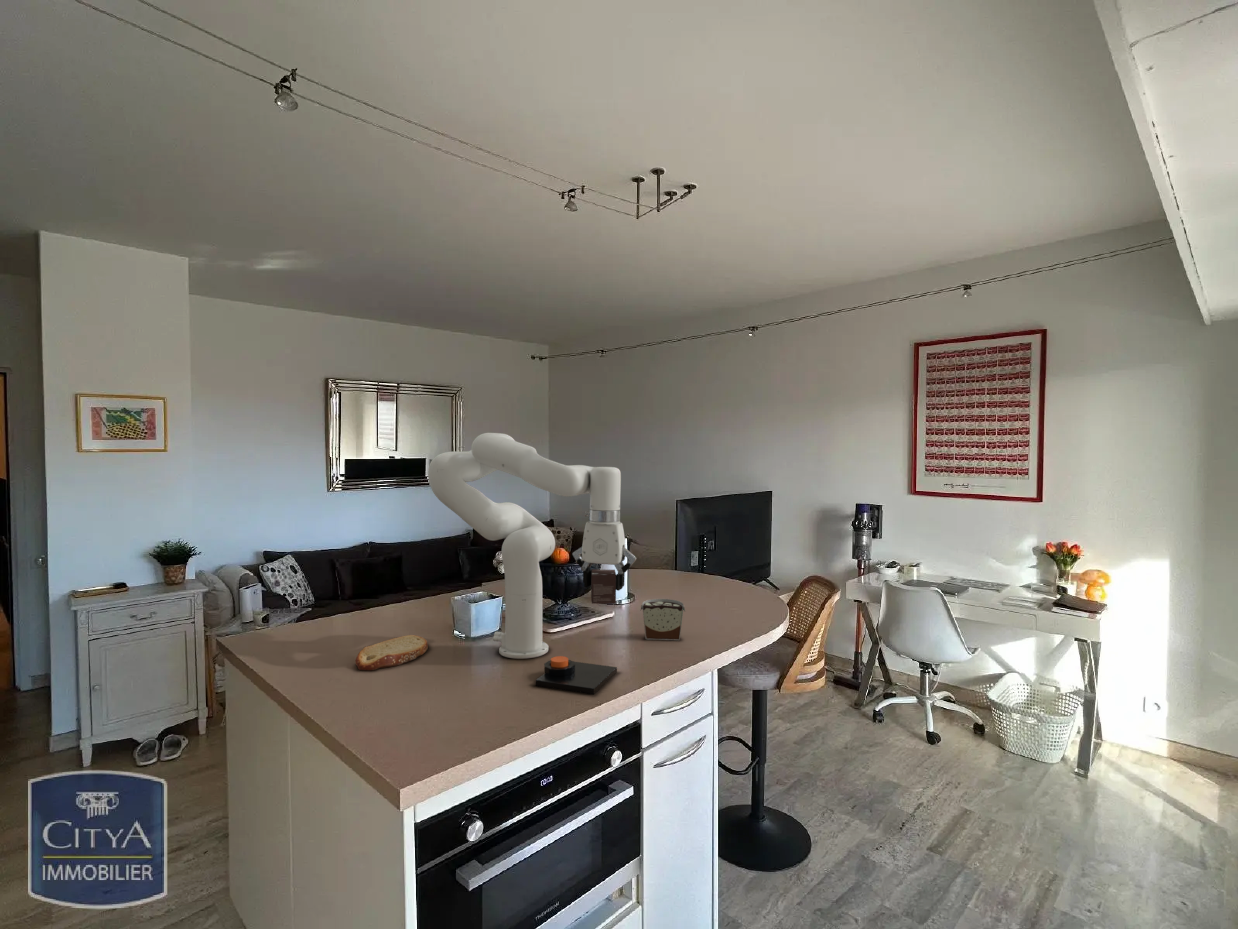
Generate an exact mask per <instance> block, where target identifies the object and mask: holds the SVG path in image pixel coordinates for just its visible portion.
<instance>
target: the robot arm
mask: <svg viewBox="0 0 1238 929" xmlns="http://www.w3.org/2000/svg"><path fill="white" fill-rule="evenodd" d="M496 471H500V472H503V473H506V474H509V475H511V476H514V477H517V478H520V479H522V480H523V481H524V482H526V483H528V484H530V485H532V486H534V487H535V488H538V489H541V490H543V491H545V492H549V493H551V494H554V495H557V496H561V497H564V498H571V497H575V496H582V495H588V494H589V509H588V510H585V511H584V517H587V518H588V520H589V521H585V525H584V530H583V536H582V537H583V538H582V544H581V545H582V546H581V547H578V549H576V550H574V551H573V552H572V557H573V558H574V560H575V561H576V564H577V565H578V566H579V568H580V569H581V571H582V583H583V587H584V588H588V587H591V574H592V569H591V566H592V565H593V564H597V565H598V564H599V565H610V566H611V565H612V566H614V567H615V570H616V571H617V573H616V591H618V592H619V591H621V590H622V589H623V588H624V587H625V575H626V574H625V573H626V572H628V570H630V568H631V567H632V566H633V565H634V564H635V562H636V561H637V558H638V557H636V556H635V554H633V553H632V552H631V551H630V550H628V549H627V548H626V537H625V531H624V524H623V522H621V492H622V491H621V490H622V489H621V488H622V487H621V486H622V485H621V484H622V473H621V470H620V469H619V468H618V467H616V466H615V467H614V466H590V465H585V464H574V465H573V464H569V465H566V464H563V463H560V462H557V461H554V460H552V459H549V458H546V457H543V456H542V455H541V454H538V452H537V449H536V448H535V447H533V446H531V445H529V444H526V443H523V442H522V443H521V442H519V441H516V440H515V438H513V437H512V436H511V435H509V434H507V433H500V432H484V433H481V434H479V435H477V436H476V437H475V438H474V440H473V441H472V443H471V448H470V450H467V451H466V450H465V451H464V450H463V451H457V450H455V451H445V452H442V453H439V454H437V455H435V456H434V457H433V458H432V460H431V461H430V463H429V466H428V470H427V477H428V478H427V479H428V484H429V487H430V489H431V491H432V493H433V494H434V496H435V497H436V498H437V499H438V500H439V501H440V502H441V503H442V504H443V505H444V506H445V507H447V508H448V509H449V510H451V512H453V513H455V515H457V516H458V517H459V518H460V519H461V520H462V521H464V522H465V523H466V524H467V525H469V526H470V527H471V528H472V529H473V530H475V532H477V533H478V534H479V535H480V536H482V537H483V538H484V539H486V540H488V541H499V540H502V539H504V541H503V542H502V545H501V560H502V565H503V566H502V567H503V572H504V603H505V604H504V614H505V615H504V620H505V621H504V624H505V627H504V632H502V631H494V633H493V637H492V641H493V642H500V643H501V645H499V650H498V652H499V654H500V656H502V657H504V658H509V659H516V660H517V659H518V660H524V659H534V658H538V657H542V656H543V655H545V654H547V653H548V652H549V644H548V643H546V642H545V641H543V576H542V571H541V567H540V562H542V561H544V560H546V559H548V558H549V557H551V555H552V554H553V553H554V551H555V549H556V538H555V536H554V533H553V532H552V531H551V530H550V528H549V527H547V526H546V525H545V524H543V522H541V521H540V520H539V519H537V518H536V517H535V516H534V515H532V514H531V513H530V512H529V511H528V510H526V509H525V508H524V507H522V506H520V505H519V504H516V503H514V502H509V501H505V502H495V501H493V500H492V499H491V498H489V497H487V496H486V495H485V494H484V493H483V492H482V491H480V490H479V489H477V488H476V487H474V486H472V485H471V484H468V483H469V482H470V483H471V482H476V481H478V480H480V479H483V478H485V477H487V476H488V475H490V474H492V473H494V472H496ZM626 558H627V559H628V560H627V562H626V563H625V564H624V561H625V559H626Z"/></svg>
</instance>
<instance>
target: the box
mask: <svg viewBox="0 0 1238 929" xmlns="http://www.w3.org/2000/svg"><path fill="white" fill-rule="evenodd" d="M591 570H592V574H591V585H590V591H591V592H590V598H591V604H593V605H595V604H616V603H617V590H616V574H617V573H616V569H591Z"/></svg>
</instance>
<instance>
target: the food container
mask: <svg viewBox="0 0 1238 929" xmlns="http://www.w3.org/2000/svg"><path fill="white" fill-rule="evenodd" d="M640 611H642V616H643V617H642V618H643V624H644V625H643V628H644V637H645V640H647V641H648V640H653V641H681V634H682V633H681V632H682V623H683V615H684V612H686V607H685V605H684V603H683V602H682V601H680V600H677V599H672V598H652V599H647V600H644V601H643V602H642V603H641V605H640Z"/></svg>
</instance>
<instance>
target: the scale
mask: <svg viewBox="0 0 1238 929" xmlns="http://www.w3.org/2000/svg"><path fill="white" fill-rule="evenodd" d="M543 668H544V669H543V671H544V673H543V674H542V675H540V676H539V677H538V678H536V679H535V687H539V688H545V689H551V690H559V691H564V692H570V693H571V692H573V693H578V694H584V695H585V694H586V695H592V696H595V695H596V693H597V692H599V691H600V690H601V689H602V688H603V687H604V686H605V685H606V684H607V683H608V682H609V681H610V680H611V679H612V678H613V677H614V676H615V675H617V674H618V666H611V665H602V664H596V663H587V662H581V661H573V660H571V659H568V666H566V667H560V668H557V667H552V666H551V659H550V660H547V661H546V662H544V663H543Z"/></svg>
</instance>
